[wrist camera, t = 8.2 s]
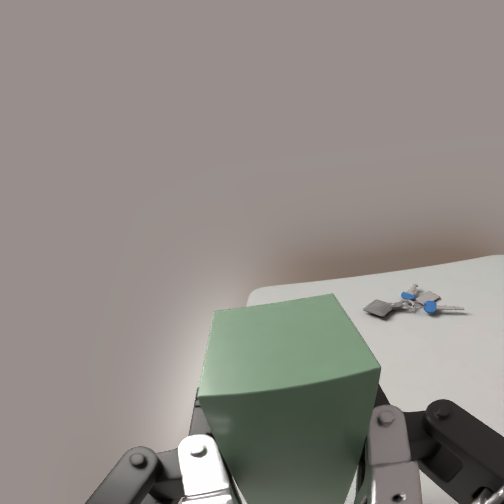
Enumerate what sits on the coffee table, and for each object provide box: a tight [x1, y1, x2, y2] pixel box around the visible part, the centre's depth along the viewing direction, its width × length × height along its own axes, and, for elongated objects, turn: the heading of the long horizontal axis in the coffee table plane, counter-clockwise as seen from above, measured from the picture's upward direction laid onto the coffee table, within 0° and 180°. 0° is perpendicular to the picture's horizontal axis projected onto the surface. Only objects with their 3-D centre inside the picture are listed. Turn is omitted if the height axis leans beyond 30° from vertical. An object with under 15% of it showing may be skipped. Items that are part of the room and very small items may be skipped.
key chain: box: [363, 284, 464, 317], centre depth 32 cm, size 14×8×1 cm, turn 70°
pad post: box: [197, 294, 381, 504], centre depth 8 cm, size 4×4×10 cm
